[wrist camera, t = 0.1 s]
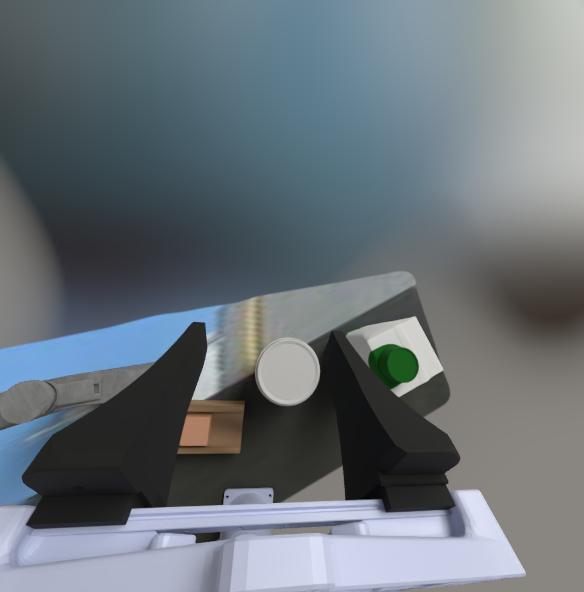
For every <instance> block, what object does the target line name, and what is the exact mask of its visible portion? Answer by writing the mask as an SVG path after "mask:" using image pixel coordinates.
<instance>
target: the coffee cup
mask: <svg viewBox="0 0 584 592" xmlns="http://www.w3.org/2000/svg"><path fill="white" fill-rule="evenodd" d="M319 377H320V366H319V361H318V358H317V356H316V354H315V352H314V351H313V350H312V349H311V347H310V346H308V345H307V344H306V343H304V342H303V341H301V340H298V339H295V338H281V339H278V340H275V341H273V342H271V343H270V344H269V345H267V346H266V347H265V348H264V349H263V351H262V352H261V353H260V355H259V357H258V359H257V362H256V367H255V378H256V383H257V385H258V388H259V390H260V391H261V393H262V394H263V395H264V396H265V397H266V398H267V399H268V400H269V401H271V402H273V403H275V404H277V405H281V406H293V405H297V404H299V403H302V402H303V401H305V400H306V399H307V398H309V397H310V396H311V394H312V393H313V392H314V390H315V389H316V387H317V384H318V381H319Z"/></svg>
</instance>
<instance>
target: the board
mask: <svg viewBox="0 0 584 592" xmlns="http://www.w3.org/2000/svg"><path fill="white" fill-rule="evenodd" d="M244 407H245V401H219V400H191V402H190V405H189V408H188V412H187V413H206V414H213V415H212V424H211V433H210V441H209V443H208V445H207V446H180V444H179V448H178V453H177V454H215V453H240V449H241V441H242V430H243V418H244Z"/></svg>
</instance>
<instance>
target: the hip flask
mask: <svg viewBox="0 0 584 592" xmlns="http://www.w3.org/2000/svg"><path fill="white" fill-rule="evenodd" d="M154 363H155V362H153V363H147V364H140V365H134V366H127V367H121V368H114V369H108V370H101V371H95V372H88V373H82V374H75V375H69V376H64V377H59V378H54V379H50V380H44V381H40V380H33V381H24V382H20V383H18V384H15V385H14V386H12V387H11V388H10V389H8V390H7V391H5V392H2V393H0V430H3V429H6V428H9V427H12V426H15V425H18V424H22V423H26V422H28V421H32V420H34V419H37V418H40V417H43V416H46V415H49V414H52V413H55V412H58V411H61V410H64V409H68V408H73V407H78V406H84V405H91V404H101V403H105V402H106V401H108V400H109V399H111V398H112V397H114V396H115V395H116V394H118V393H119V392H121V391H122V390H123V389H124V388H126V387H127V386H128V385H130V384H131V383H132V382H133V381H135V380H136V379H137V378H138V377H140V376H141V375H142V374H143V373H144V372H145V371H147V370H148V369H149V368H150V367H151V366H152V365H153V364H154Z"/></svg>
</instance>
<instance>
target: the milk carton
mask: <svg viewBox="0 0 584 592" xmlns="http://www.w3.org/2000/svg"><path fill="white" fill-rule="evenodd" d="M344 335H345V336H346V338H347V339H348V340H349V342H350V343H351V345H352V346H353V347H354V349H355V350H356V351H357V353H358V354H359V355H360V356H361V358H362V359H363V360H364V361H365V363H366V364H367V365H368V366H369V368H370V369H371V370H372V371H373V372H374V373H375V374H376V376H377V377H378V378H379V379H380V380H381V381H382V382H383V383H384V384H385V385H386V386H387V387H388V388H389V389H390V390H391V391H392V392H393V393H394V394H396V395H397V396H398V397H400V396H402V395H403V394H405V393H407V392H409V391H410V390H412V389H414V388H416V387H417V386H419V385H421V384H423V383H425V382H427V381H428V380H429V378H431V377H433V376H434V375H436V374H438V373H439V372H441V371H443V368H442V366H441V364H440V362H439V360H438V358H437V356H436V354H435V353H434V351H433V349H432V347H431V345H430V343H429V341H428V339H427V337H426V336H425V334H424V332H423V330H422V328H421V326H420V324H419V322H418V320H417V319H416V317H412V318H407V319H402V320H397V321H391V322H384V323H380V324H374V325H369V326H363V327H359V328H356V329H353V330H351V331H349V332H347V333H345V334H344Z"/></svg>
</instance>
